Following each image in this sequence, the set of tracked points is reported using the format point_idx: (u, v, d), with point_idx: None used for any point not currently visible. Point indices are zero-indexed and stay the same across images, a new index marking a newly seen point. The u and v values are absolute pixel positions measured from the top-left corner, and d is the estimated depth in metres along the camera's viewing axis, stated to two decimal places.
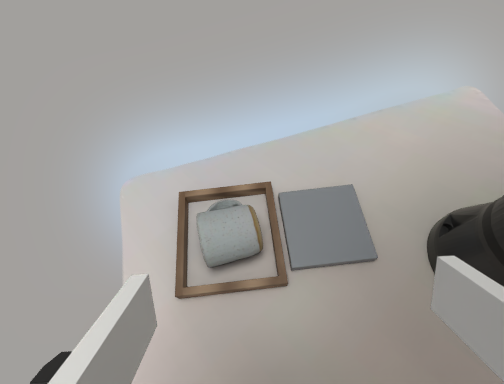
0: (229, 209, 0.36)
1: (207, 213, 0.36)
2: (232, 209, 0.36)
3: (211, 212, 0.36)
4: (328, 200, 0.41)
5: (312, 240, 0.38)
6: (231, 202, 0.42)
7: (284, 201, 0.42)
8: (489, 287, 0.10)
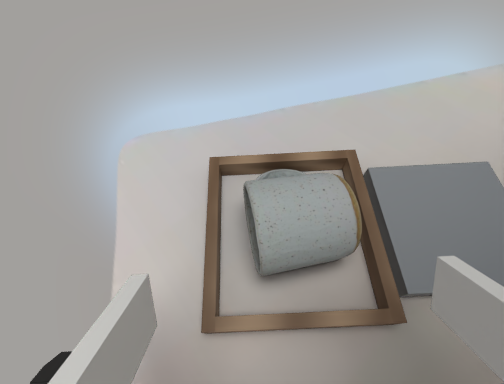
0: (302, 177, 0.21)
1: (265, 180, 0.20)
2: (309, 177, 0.20)
3: (271, 179, 0.21)
4: (452, 184, 0.25)
5: (436, 247, 0.22)
6: (290, 173, 0.27)
7: (380, 181, 0.26)
8: (489, 287, 0.10)
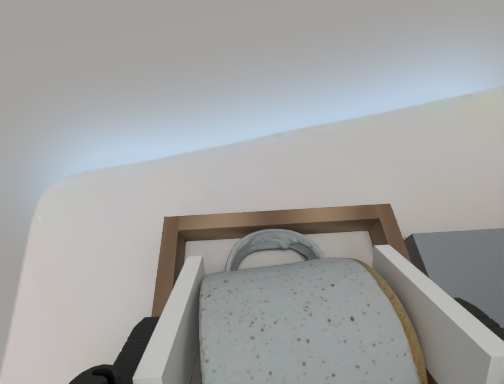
0: (308, 276, 0.11)
1: (236, 286, 0.11)
2: (321, 279, 0.11)
3: (249, 282, 0.11)
4: None
5: None
6: (287, 236, 0.17)
7: (434, 259, 0.16)
8: (406, 270, 0.11)
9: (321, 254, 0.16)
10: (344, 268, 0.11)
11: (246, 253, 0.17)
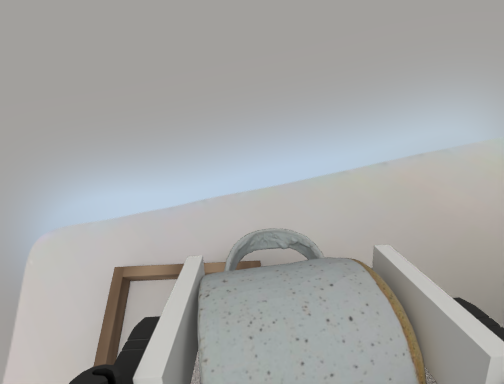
0: (307, 276, 0.11)
1: (235, 286, 0.11)
2: (319, 279, 0.11)
3: (248, 282, 0.11)
4: None
5: None
6: (286, 236, 0.17)
7: None
8: (406, 270, 0.11)
9: (320, 254, 0.15)
10: (343, 268, 0.11)
11: (245, 253, 0.17)
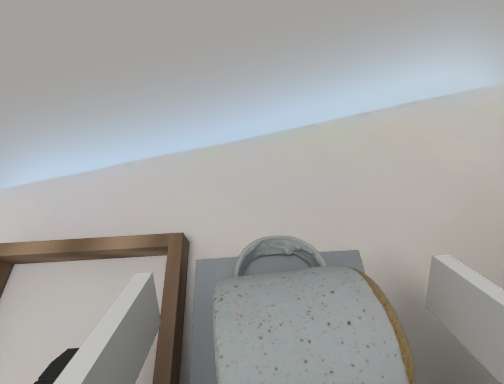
0: (310, 283, 0.12)
1: (246, 291, 0.12)
2: (322, 286, 0.12)
3: (257, 288, 0.12)
4: None
5: None
6: (291, 243, 0.18)
7: (205, 283, 0.19)
8: (482, 285, 0.10)
9: (322, 261, 0.17)
10: (343, 276, 0.13)
11: (252, 258, 0.19)
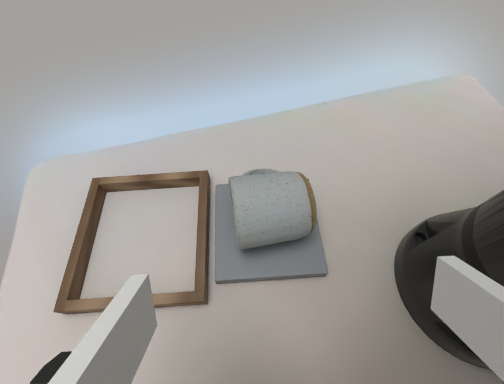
0: (273, 174, 0.27)
1: (244, 176, 0.27)
2: (278, 174, 0.27)
3: (249, 176, 0.27)
4: None
5: None
6: (269, 172, 0.33)
7: (221, 195, 0.33)
8: (489, 287, 0.10)
9: None
10: (289, 172, 0.27)
11: None
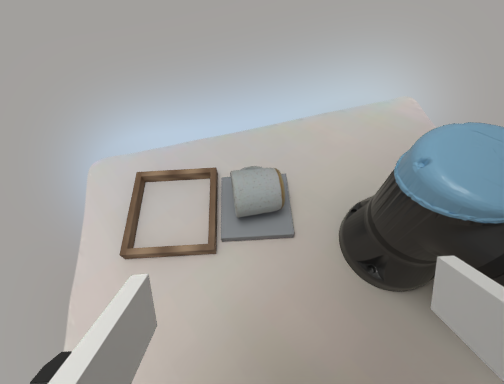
0: (258, 169, 0.42)
1: (240, 170, 0.42)
2: (261, 169, 0.42)
3: (243, 170, 0.42)
4: None
5: (242, 217, 0.45)
6: (258, 168, 0.49)
7: (225, 185, 0.49)
8: (489, 287, 0.10)
9: None
10: (269, 168, 0.43)
11: None
